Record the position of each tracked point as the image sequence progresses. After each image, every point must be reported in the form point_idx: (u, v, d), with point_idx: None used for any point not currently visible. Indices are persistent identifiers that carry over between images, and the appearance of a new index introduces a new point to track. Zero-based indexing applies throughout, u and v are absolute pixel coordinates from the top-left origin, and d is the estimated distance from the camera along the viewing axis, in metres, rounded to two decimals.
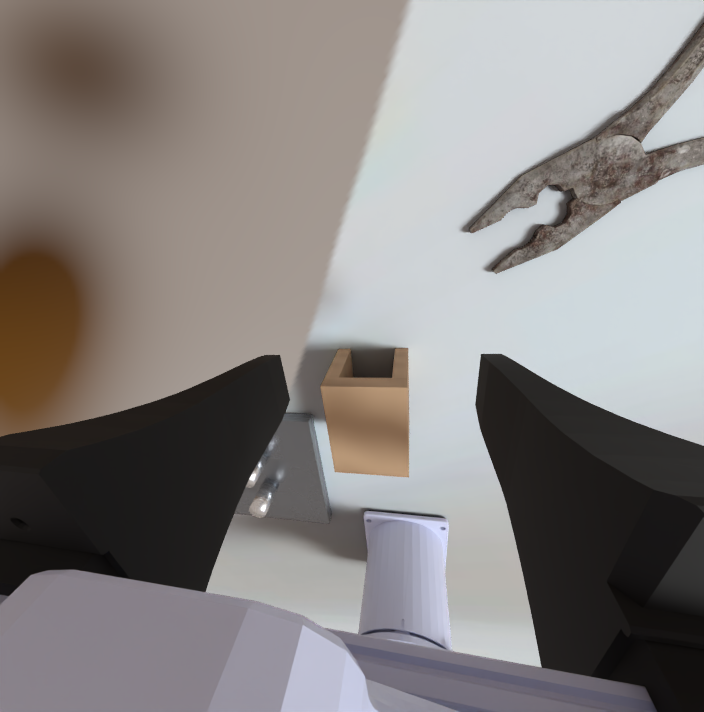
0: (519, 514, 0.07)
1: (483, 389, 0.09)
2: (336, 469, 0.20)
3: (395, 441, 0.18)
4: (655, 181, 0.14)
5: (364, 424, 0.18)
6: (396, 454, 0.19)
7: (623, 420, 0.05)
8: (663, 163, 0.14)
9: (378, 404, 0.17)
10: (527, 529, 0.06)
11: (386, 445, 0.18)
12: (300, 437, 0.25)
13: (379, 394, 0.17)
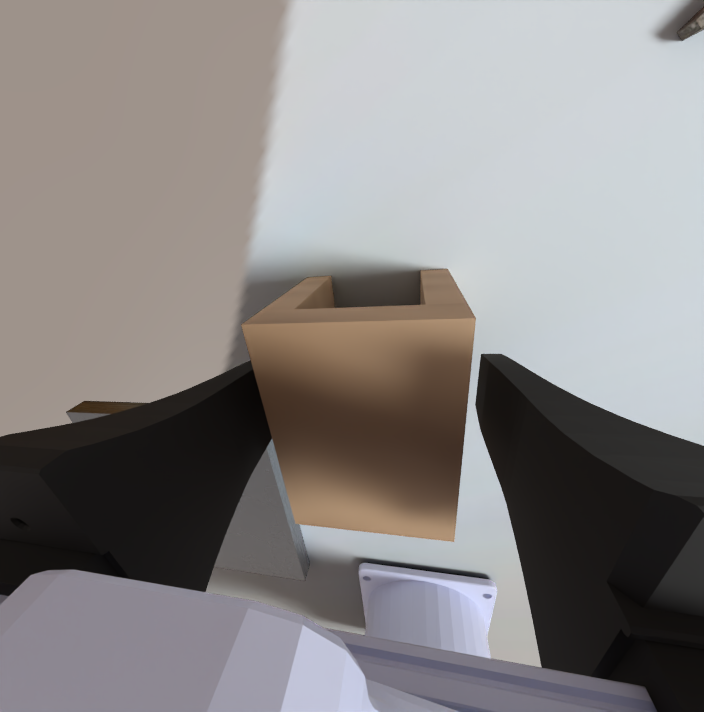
0: (519, 514, 0.07)
1: (483, 389, 0.09)
2: (298, 519, 0.10)
3: (429, 465, 0.08)
4: None
5: (355, 423, 0.07)
6: (430, 493, 0.08)
7: (623, 420, 0.05)
8: None
9: (391, 371, 0.07)
10: (527, 529, 0.06)
11: (407, 473, 0.08)
12: None
13: (394, 342, 0.06)
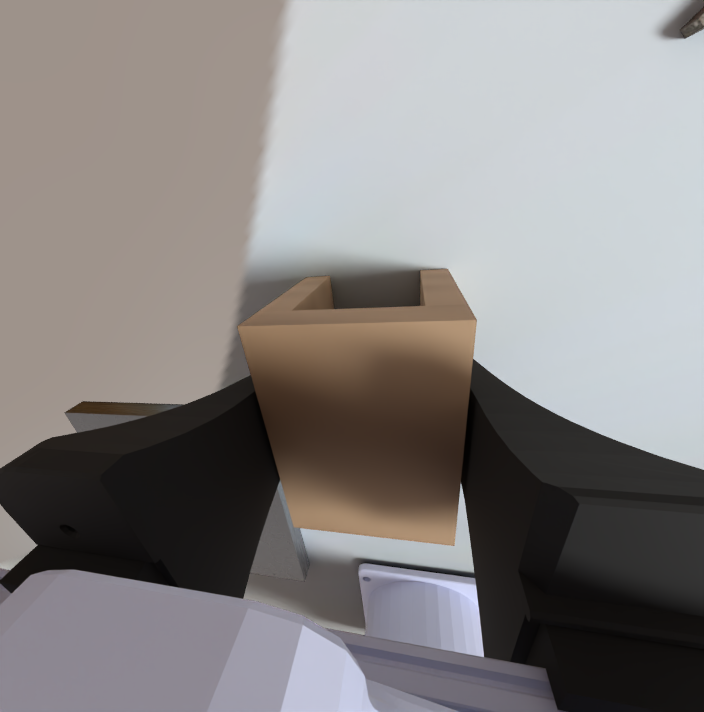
0: (472, 510, 0.07)
1: None
2: (296, 522, 0.10)
3: (429, 468, 0.07)
4: None
5: (354, 426, 0.07)
6: (430, 497, 0.08)
7: (557, 418, 0.05)
8: None
9: (390, 373, 0.06)
10: (476, 524, 0.07)
11: (406, 477, 0.08)
12: None
13: (393, 344, 0.06)
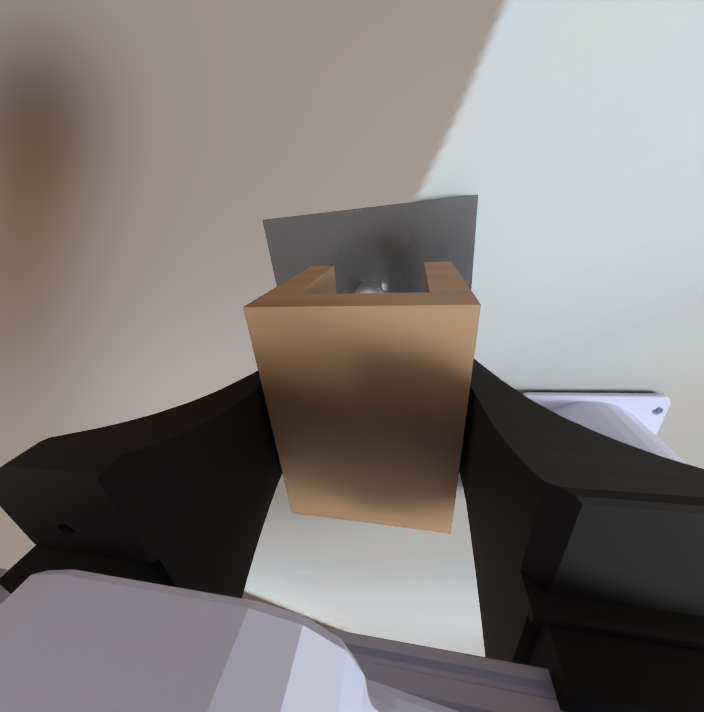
0: (473, 510, 0.07)
1: None
2: (294, 508, 0.10)
3: (429, 454, 0.08)
4: None
5: (355, 410, 0.07)
6: (429, 484, 0.08)
7: (559, 418, 0.05)
8: None
9: (393, 357, 0.07)
10: (477, 524, 0.07)
11: (406, 463, 0.08)
12: (453, 236, 0.15)
13: (398, 328, 0.06)
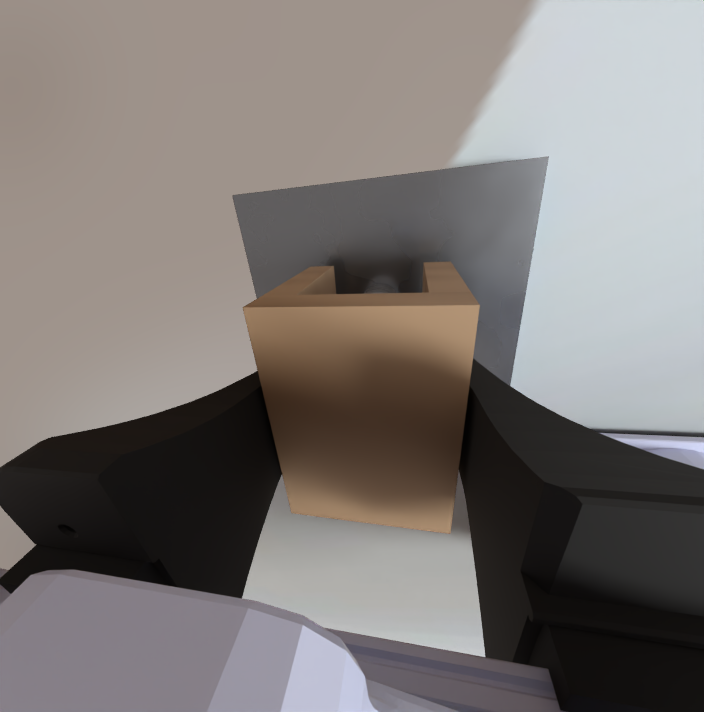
0: (473, 510, 0.07)
1: None
2: (294, 508, 0.10)
3: (428, 455, 0.08)
4: None
5: (355, 410, 0.07)
6: (428, 483, 0.08)
7: (559, 418, 0.05)
8: None
9: (392, 358, 0.07)
10: (477, 524, 0.07)
11: (405, 463, 0.08)
12: (505, 220, 0.10)
13: (397, 328, 0.06)
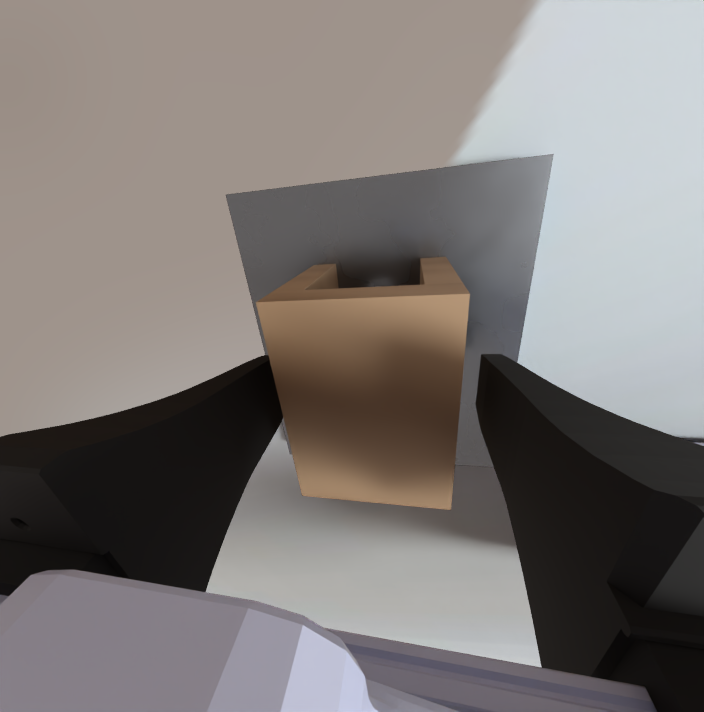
0: (519, 514, 0.07)
1: (483, 389, 0.09)
2: (304, 491, 0.10)
3: (428, 434, 0.08)
4: None
5: (359, 395, 0.08)
6: (429, 462, 0.09)
7: (623, 420, 0.05)
8: None
9: (393, 344, 0.07)
10: (527, 529, 0.06)
11: (407, 443, 0.09)
12: (508, 220, 0.10)
13: (396, 317, 0.07)
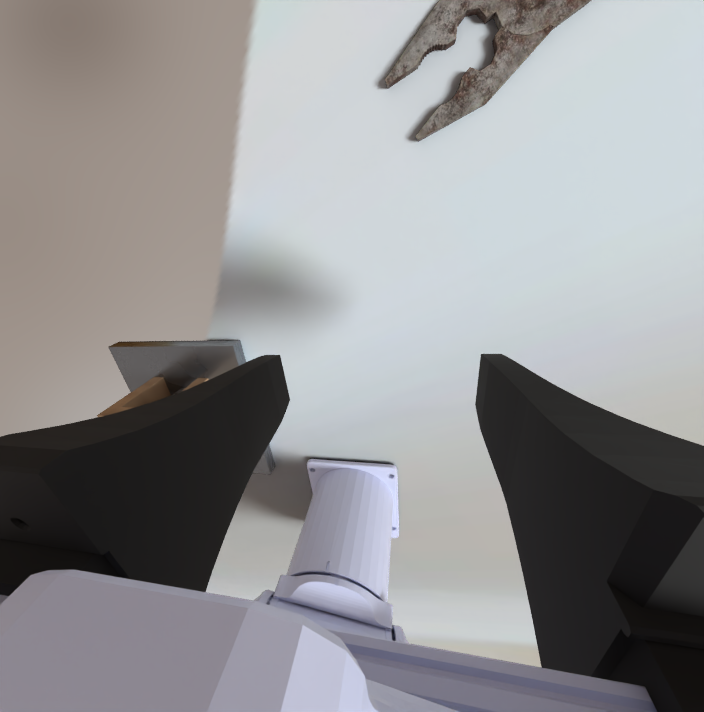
0: (519, 514, 0.07)
1: (483, 389, 0.09)
2: None
3: None
4: None
5: None
6: None
7: (623, 420, 0.05)
8: None
9: None
10: (527, 529, 0.06)
11: None
12: (226, 366, 0.22)
13: None
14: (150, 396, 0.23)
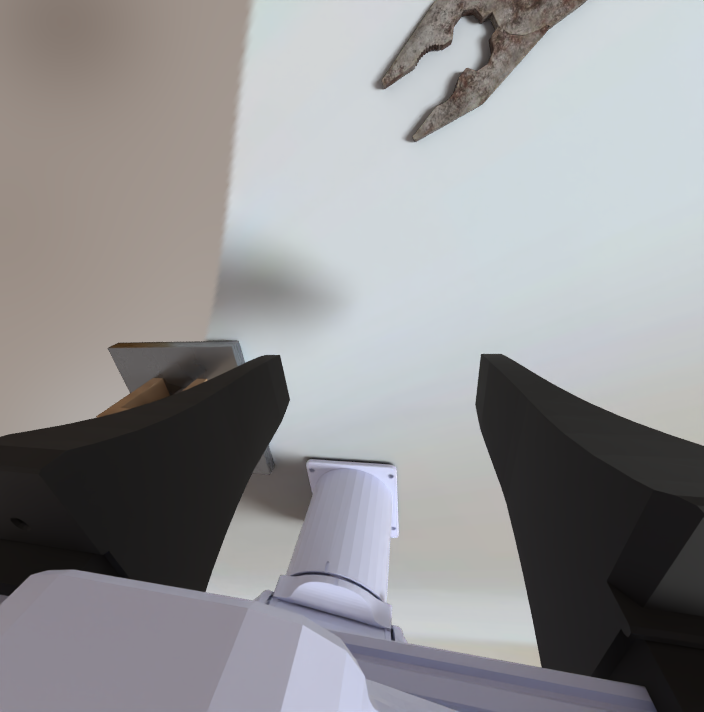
0: (519, 514, 0.07)
1: (483, 389, 0.09)
2: None
3: None
4: None
5: None
6: None
7: (623, 420, 0.05)
8: None
9: None
10: (527, 529, 0.06)
11: None
12: (225, 367, 0.22)
13: None
14: (149, 397, 0.23)
